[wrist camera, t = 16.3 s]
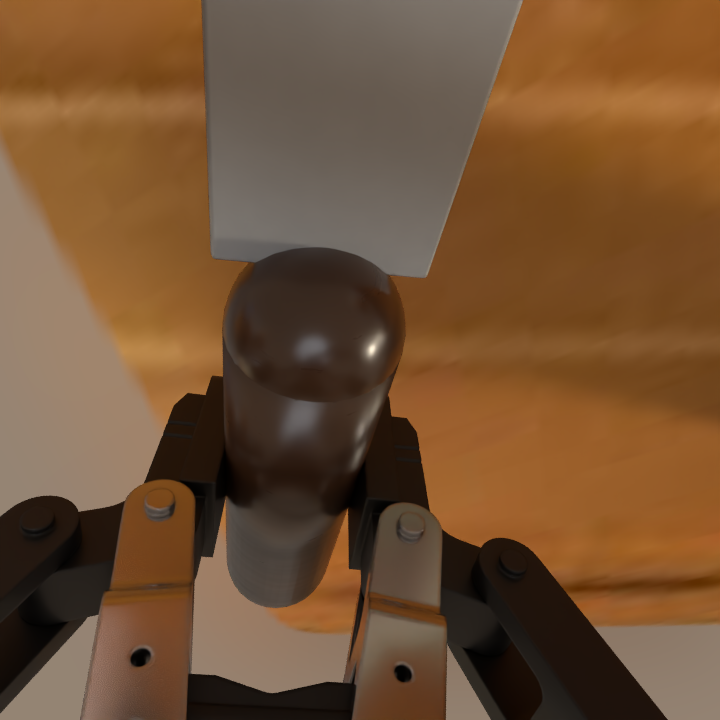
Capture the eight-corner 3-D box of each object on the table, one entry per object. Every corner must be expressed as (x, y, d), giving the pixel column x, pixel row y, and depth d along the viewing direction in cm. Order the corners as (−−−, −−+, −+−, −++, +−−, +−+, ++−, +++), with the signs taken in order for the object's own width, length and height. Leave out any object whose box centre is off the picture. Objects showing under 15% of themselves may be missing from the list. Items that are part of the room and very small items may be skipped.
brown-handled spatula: (327, 526, 20) (329, 620, 18) (225, 524, 19) (215, 621, 17) (629, -448, 5) (842, -515, 3) (200, -587, 4) (108, -785, 2)
